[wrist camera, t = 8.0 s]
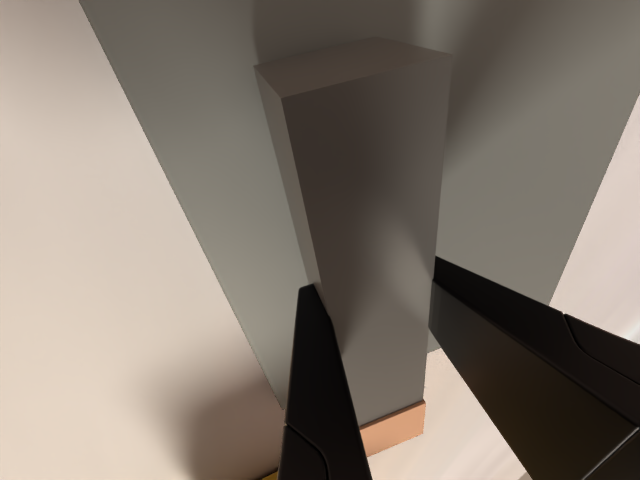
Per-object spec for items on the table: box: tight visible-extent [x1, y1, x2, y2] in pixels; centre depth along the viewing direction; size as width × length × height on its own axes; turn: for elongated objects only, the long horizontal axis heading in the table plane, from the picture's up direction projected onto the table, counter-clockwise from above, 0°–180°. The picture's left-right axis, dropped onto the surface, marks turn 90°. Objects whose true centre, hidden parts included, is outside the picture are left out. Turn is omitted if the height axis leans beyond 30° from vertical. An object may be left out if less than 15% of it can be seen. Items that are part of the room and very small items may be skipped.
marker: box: [253, 36, 453, 457], centre depth 9 cm, size 2×12×2 cm, turn 9°
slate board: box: [79, 0, 640, 410], centre depth 10 cm, size 13×15×1 cm
